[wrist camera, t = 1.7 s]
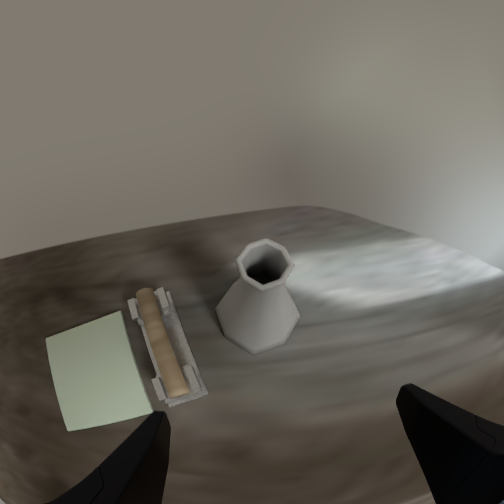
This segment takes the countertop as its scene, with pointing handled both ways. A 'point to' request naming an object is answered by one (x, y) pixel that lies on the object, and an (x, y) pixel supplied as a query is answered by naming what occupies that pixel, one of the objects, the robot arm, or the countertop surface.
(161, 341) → the rod
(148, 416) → the robot arm
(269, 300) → the flask
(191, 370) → the cradle
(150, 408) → the pad
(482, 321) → the countertop surface
